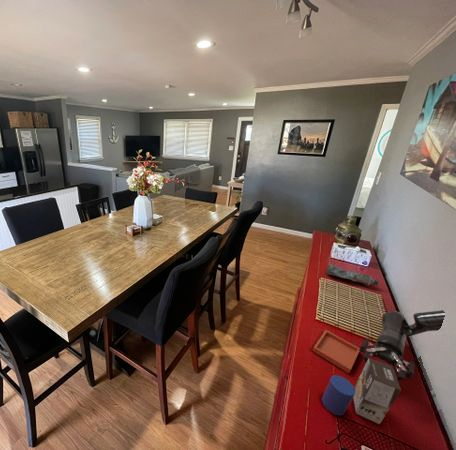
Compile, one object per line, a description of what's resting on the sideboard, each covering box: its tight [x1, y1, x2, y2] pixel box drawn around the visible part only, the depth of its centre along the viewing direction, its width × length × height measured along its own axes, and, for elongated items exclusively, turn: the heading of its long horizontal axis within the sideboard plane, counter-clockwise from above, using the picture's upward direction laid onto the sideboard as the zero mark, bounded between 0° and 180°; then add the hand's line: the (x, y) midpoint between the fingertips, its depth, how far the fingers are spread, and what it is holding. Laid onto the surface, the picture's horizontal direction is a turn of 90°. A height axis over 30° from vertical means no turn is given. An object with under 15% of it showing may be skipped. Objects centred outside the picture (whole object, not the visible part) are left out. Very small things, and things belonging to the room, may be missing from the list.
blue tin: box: [321, 374, 355, 416], centre depth 77 cm, size 6×6×10 cm
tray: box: [312, 329, 360, 374], centre depth 98 cm, size 13×15×2 cm
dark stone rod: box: [325, 263, 379, 287], centre depth 145 cm, size 13×7×25 cm
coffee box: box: [352, 357, 402, 425], centre depth 76 cm, size 9×6×16 cm
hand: (381, 369), depth 82 cm, fingers open, 8 cm apart
